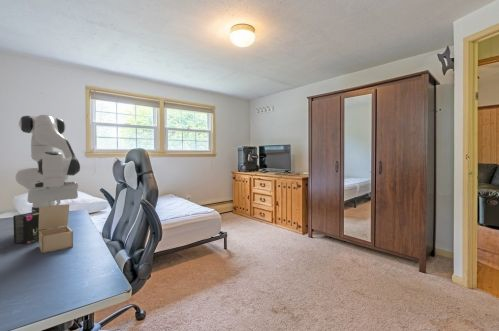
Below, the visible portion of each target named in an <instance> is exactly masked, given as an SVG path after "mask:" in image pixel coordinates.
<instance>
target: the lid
mask: <svg viewBox="0 0 499 331" xmlns="http://www.w3.org/2000/svg"><path fill="white" fill-rule="evenodd" d="M69 213H70V204H69V203H68V204H59V205H56V204H55V205H53V206H46V207H39V227H38V230H42V229H49V228H58V227H65V226H68V224H69V222H68V221H69Z"/></svg>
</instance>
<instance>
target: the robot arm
mask: <svg viewBox="0 0 499 331" xmlns="http://www.w3.org/2000/svg"><path fill="white" fill-rule="evenodd" d="M18 127H19V129H20V130H21V132H23V133H26V134H32V135H31V140H30V152H31V153H30V154H31V155H30V156H31V159H32V160H33V161H34V162H37V167H29V168H22V169H20V170H18V171H17V172H16V174H15V180H16V182H17V183H18V184H19V185H20V186H23V187H24V188H25V189H27V190H28V193H27V202H28V203H29V204H32V207H31V212H39V207H46V206H53V205H61V201H65V200H76V199H77V198H78V196H79V195H78V189H79V184H78V183H77V182H76V181H67V180H68V179H69V176H73V177H74V176H75V175H77V174H78V173H80V171H81V164H80V162H79V159H78V158H77V157H76V155H75V153H74V150H73V148H72V146H71V143H70V142H69V141H68V139H67V138H66V137H64V136H63V135H62V134H64V133H65V130H66V124H65V121H64V120H63V119H61V118H58V117H53V116H50V115H48V114H39V115H38V116H36V115H34V116H33V115H23V116H21V117H20V119H19V120H18ZM54 148H55V149H58V150H60V151H61V152H60V151H55V150H54ZM63 155H64V156H63ZM49 229H52V228H49Z"/></svg>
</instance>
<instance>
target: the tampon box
mask: <svg viewBox="0 0 499 331" xmlns="http://www.w3.org/2000/svg"><path fill="white" fill-rule="evenodd" d="M38 227H39V212H32V211H31V212H26V213H22V214H15V215H13V243H15V244H16V243H17V244H24V245H25V244H26V245H28V244H31V243H34V242H37V241H38V242H39V231H40V230H38ZM42 230H46V229H42Z"/></svg>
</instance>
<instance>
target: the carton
mask: <svg viewBox="0 0 499 331" xmlns="http://www.w3.org/2000/svg"><path fill="white" fill-rule="evenodd" d="M38 247H39V250H40V253H41V254H47V253H51V252H55V251H60V250H64V249H69V248H73V247H74V232H73V230H72V229H71V228H70V227H69V226H68V225H67V226H61V227H55V228H52V229H46V230H40V231H39V240H38Z"/></svg>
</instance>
